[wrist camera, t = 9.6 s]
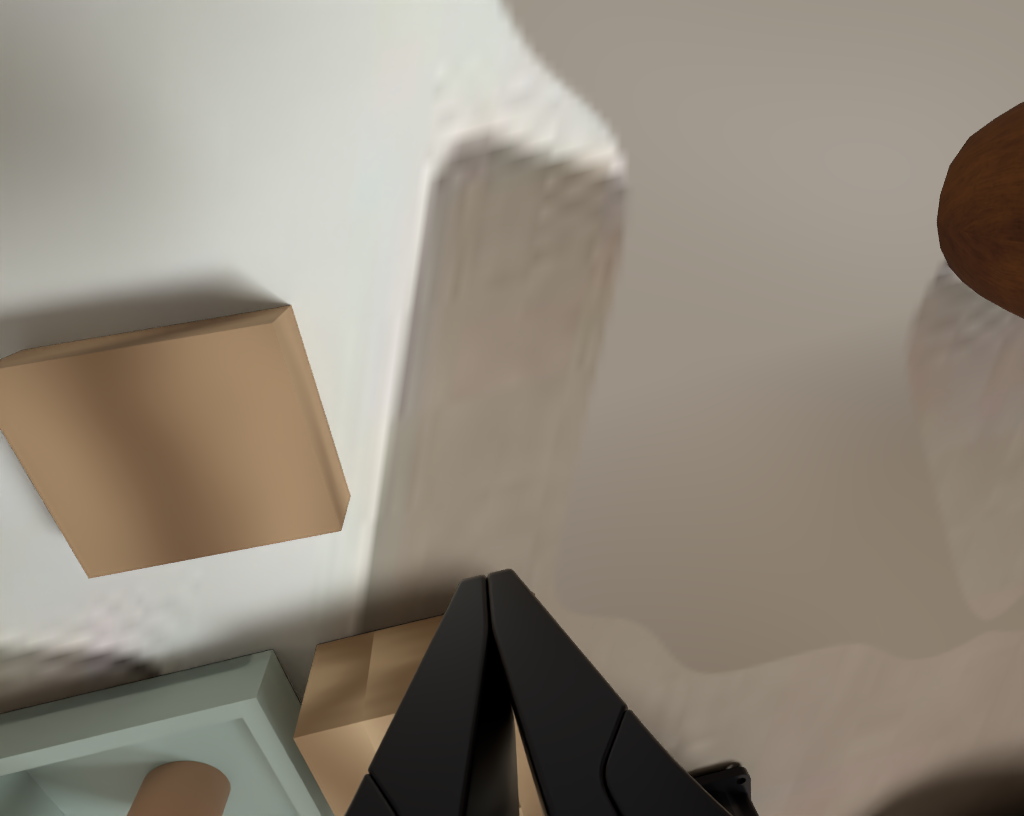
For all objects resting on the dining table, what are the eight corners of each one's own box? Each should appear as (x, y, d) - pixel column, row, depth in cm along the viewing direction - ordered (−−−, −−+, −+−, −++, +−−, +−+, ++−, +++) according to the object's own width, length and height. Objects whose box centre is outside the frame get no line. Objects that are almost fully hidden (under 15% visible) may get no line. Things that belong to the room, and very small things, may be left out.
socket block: (534, 593, 22) (552, 674, 19) (566, 736, 26) (587, 827, 23) (317, 644, 22) (293, 738, 19) (380, 782, 26) (371, 882, 22)
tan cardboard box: (294, 302, 17) (271, 323, 15) (352, 490, 20) (341, 531, 18) (31, 346, 17) (-33, 373, 15) (129, 530, 20) (89, 578, 17)
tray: (272, 649, 22) (255, 697, 20) (359, 819, 27) (353, 872, 25) (-21, 719, 22) (-68, 775, 20) (120, 879, 26) (94, 937, 24)
